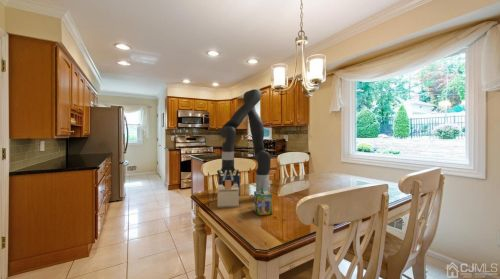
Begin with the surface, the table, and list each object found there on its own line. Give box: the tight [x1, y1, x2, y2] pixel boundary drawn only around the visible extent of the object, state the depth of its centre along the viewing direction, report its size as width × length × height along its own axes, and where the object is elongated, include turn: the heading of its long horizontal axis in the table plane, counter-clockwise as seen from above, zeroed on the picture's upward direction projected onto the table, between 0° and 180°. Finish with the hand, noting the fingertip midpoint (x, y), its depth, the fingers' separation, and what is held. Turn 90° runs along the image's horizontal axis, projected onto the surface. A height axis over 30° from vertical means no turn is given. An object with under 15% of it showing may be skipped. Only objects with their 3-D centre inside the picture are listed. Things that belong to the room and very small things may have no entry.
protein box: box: [218, 172, 241, 197], centre depth 159 cm, size 10×15×16 cm
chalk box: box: [253, 186, 273, 216], centre depth 125 cm, size 9×9×15 cm
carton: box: [217, 190, 240, 209], centre depth 140 cm, size 13×15×10 cm
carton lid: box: [216, 180, 239, 192], centre depth 139 cm, size 13×14×6 cm
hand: (228, 186), depth 134 cm, fingers closed on carton lid, 4 cm apart
